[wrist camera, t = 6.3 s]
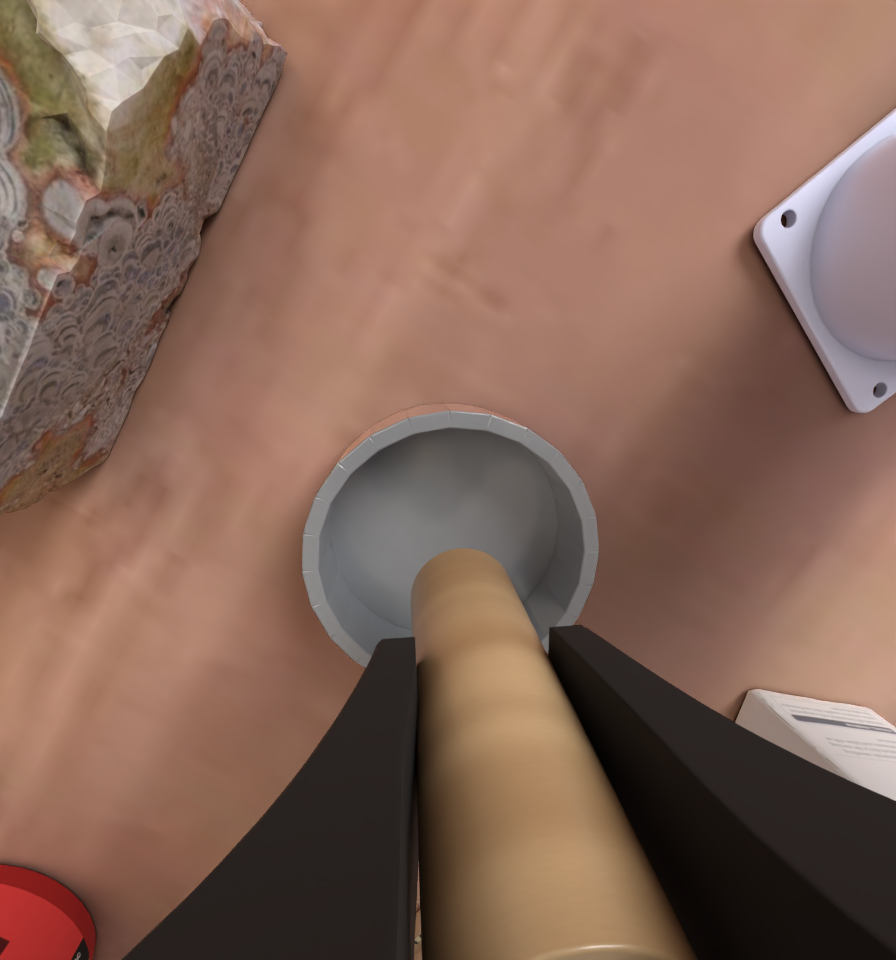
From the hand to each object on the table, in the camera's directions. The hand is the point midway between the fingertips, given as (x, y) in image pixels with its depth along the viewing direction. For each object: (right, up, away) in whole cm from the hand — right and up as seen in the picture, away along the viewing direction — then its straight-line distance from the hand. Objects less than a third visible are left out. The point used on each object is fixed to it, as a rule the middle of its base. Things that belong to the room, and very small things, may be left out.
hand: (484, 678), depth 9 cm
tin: (-1, +2, +8) cm, 9 cm away
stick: (0, +1, +3) cm, 3 cm away
